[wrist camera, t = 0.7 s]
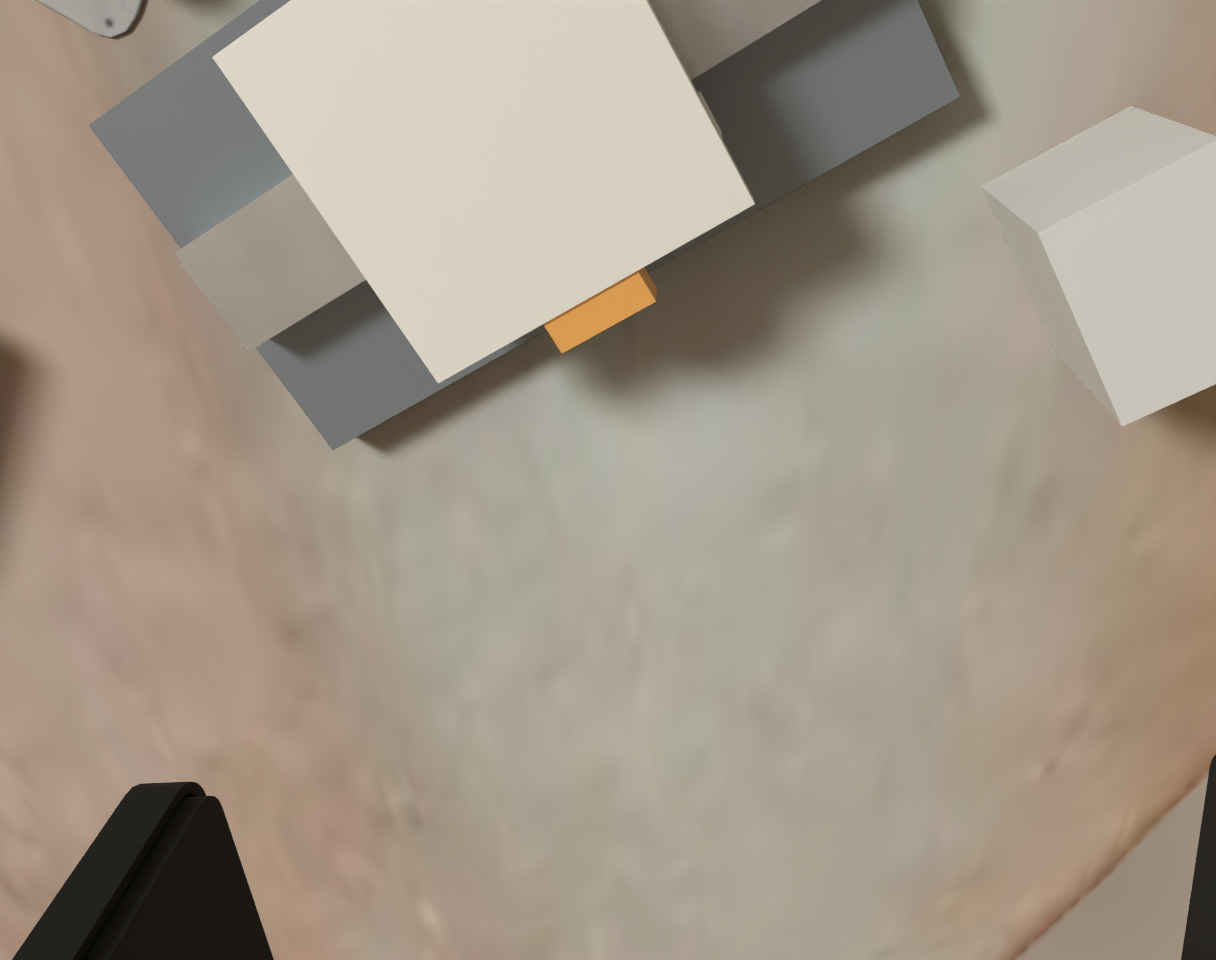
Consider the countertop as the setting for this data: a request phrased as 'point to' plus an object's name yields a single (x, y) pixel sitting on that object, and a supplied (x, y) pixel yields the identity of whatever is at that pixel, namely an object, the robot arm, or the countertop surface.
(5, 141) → the countertop surface
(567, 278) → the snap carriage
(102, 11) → the emergency button
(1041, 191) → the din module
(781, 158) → the rail mount
